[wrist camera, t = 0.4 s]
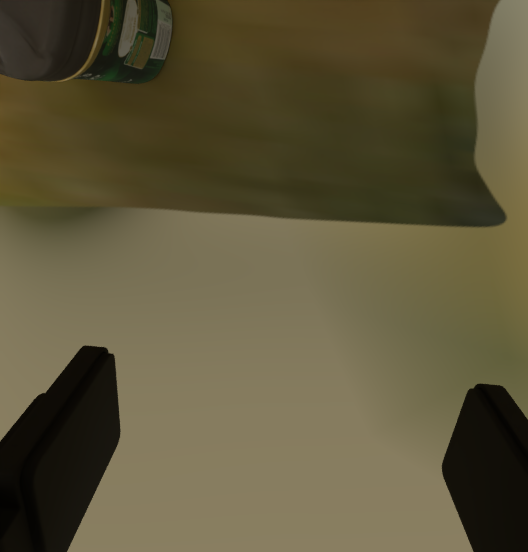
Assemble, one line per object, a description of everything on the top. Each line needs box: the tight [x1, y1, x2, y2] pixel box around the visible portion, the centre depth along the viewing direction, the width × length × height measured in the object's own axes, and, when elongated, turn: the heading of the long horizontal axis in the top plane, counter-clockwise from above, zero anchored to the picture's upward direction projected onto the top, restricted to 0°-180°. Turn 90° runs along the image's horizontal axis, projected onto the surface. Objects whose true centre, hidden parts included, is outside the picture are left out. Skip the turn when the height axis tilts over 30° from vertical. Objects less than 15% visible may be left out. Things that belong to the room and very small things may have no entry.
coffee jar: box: [0, 0, 172, 84], centre depth 26 cm, size 10×8×19 cm
